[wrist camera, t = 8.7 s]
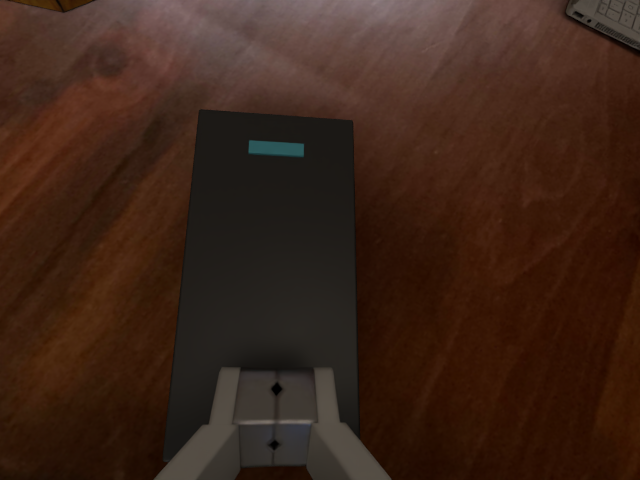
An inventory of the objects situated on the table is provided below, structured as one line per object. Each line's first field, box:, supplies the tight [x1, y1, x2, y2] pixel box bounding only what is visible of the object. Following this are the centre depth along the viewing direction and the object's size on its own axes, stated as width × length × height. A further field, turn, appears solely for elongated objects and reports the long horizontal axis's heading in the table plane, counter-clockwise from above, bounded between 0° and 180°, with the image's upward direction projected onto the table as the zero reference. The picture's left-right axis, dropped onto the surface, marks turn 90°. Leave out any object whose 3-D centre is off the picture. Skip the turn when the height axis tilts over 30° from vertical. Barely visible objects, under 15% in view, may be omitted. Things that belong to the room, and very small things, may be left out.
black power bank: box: [163, 109, 360, 462], centre depth 17 cm, size 4×7×14 cm
